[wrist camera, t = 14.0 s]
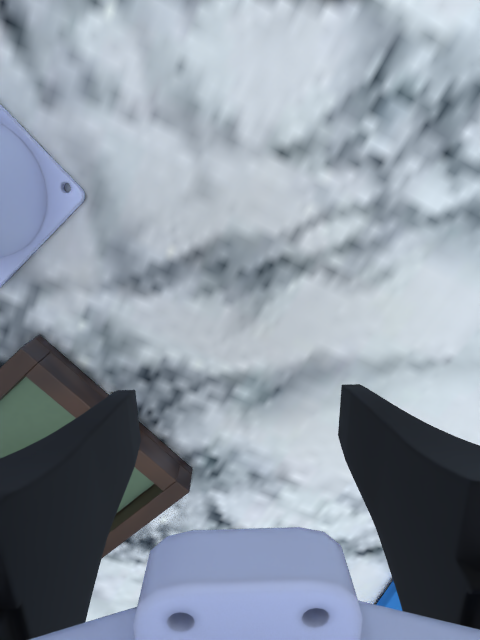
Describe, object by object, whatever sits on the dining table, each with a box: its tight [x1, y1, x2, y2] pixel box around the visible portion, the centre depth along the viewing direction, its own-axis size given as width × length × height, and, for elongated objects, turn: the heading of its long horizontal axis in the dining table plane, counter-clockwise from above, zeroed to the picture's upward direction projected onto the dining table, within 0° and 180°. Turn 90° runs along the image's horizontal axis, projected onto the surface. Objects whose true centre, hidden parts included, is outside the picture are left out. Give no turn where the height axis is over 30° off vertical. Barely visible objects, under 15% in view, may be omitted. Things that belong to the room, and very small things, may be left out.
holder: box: [0, 335, 192, 559], centre depth 25 cm, size 13×15×2 cm
